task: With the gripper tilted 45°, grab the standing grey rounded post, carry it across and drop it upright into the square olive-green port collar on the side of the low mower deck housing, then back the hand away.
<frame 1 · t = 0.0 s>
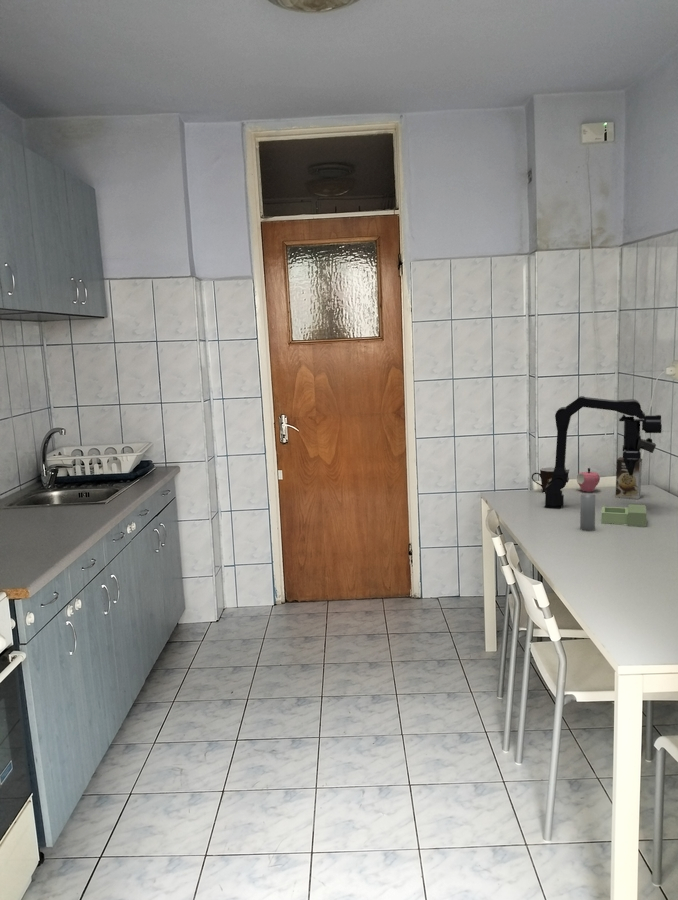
hand: (630, 473, 281), 15 cm above the table, tool pointing down, fingers open, 9 cm apart
apple: (588, 491, 316), on the table
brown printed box: (628, 497, 304), on the table
grey rounded post: (587, 528, 261), on the table
coffee mug: (546, 492, 319), on the table
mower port: (614, 520, 270), on the table
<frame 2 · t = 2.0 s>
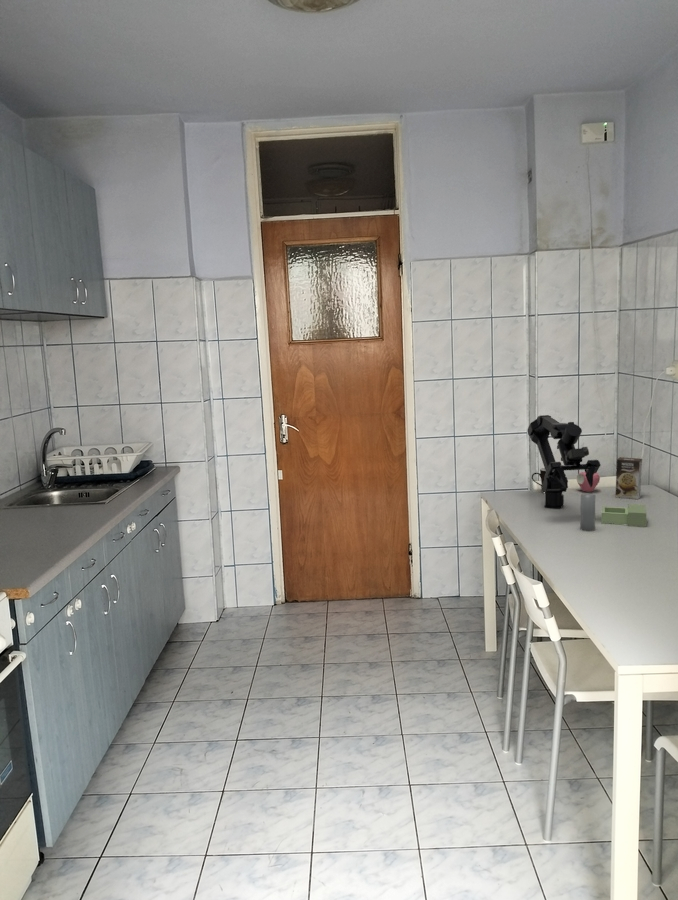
hand: (579, 487, 267), 13 cm above the table, tool tilted 45°, fingers open, 9 cm apart
nothing on the table moved.
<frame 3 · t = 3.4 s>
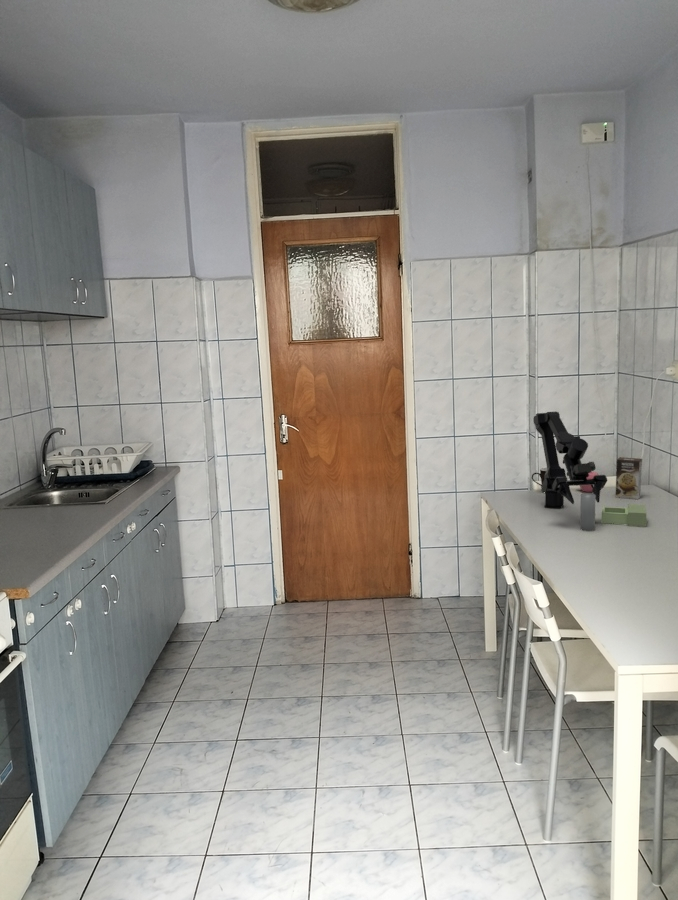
hand: (585, 502, 262), 9 cm above the table, tool tilted 45°, fingers open, 9 cm apart
nothing on the table moved.
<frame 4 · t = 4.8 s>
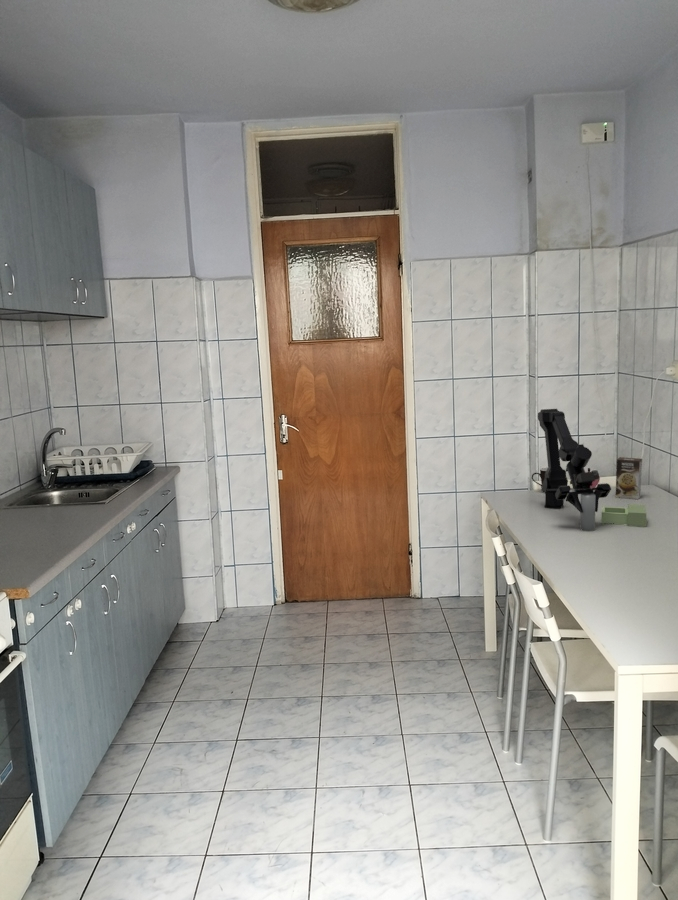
hand: (589, 511, 259), 7 cm above the table, tool tilted 45°, fingers closed on grey rounded post, 5 cm apart
grey rounded post: (587, 528, 261), on the table, touching gripper
everything else where it was.
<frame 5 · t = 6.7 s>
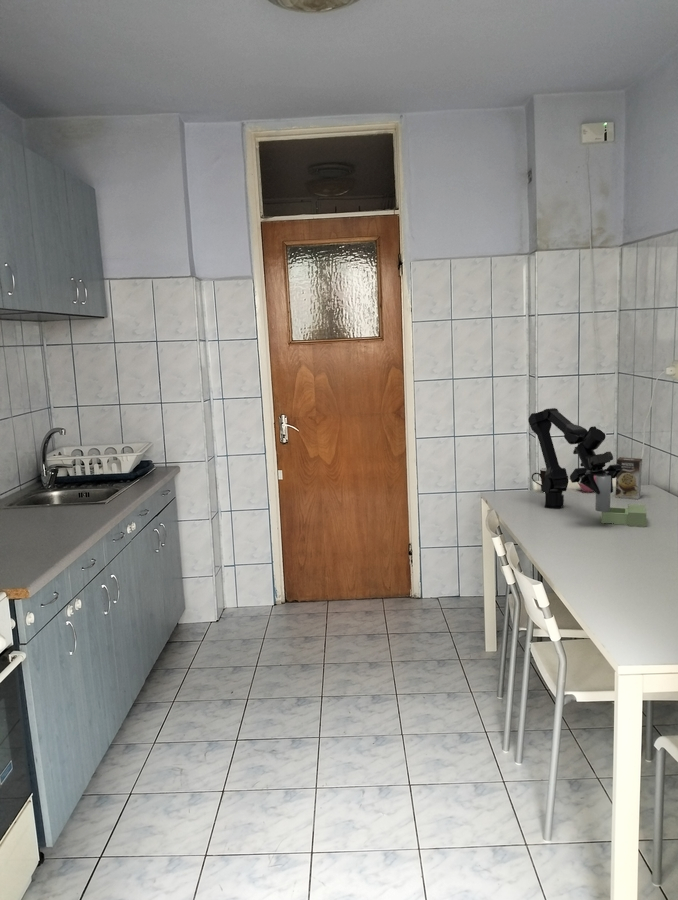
hand: (605, 492, 261), 12 cm above the table, tool tilted 45°, fingers closed on grey rounded post, 5 cm apart
grey rounded post: (602, 509, 264), point 6 cm above the table, touching gripper
everything else where it was.
when the fingers open (8 cm above the table, at t = 8.7 s): grey rounded post drops 2 cm, resting in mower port.
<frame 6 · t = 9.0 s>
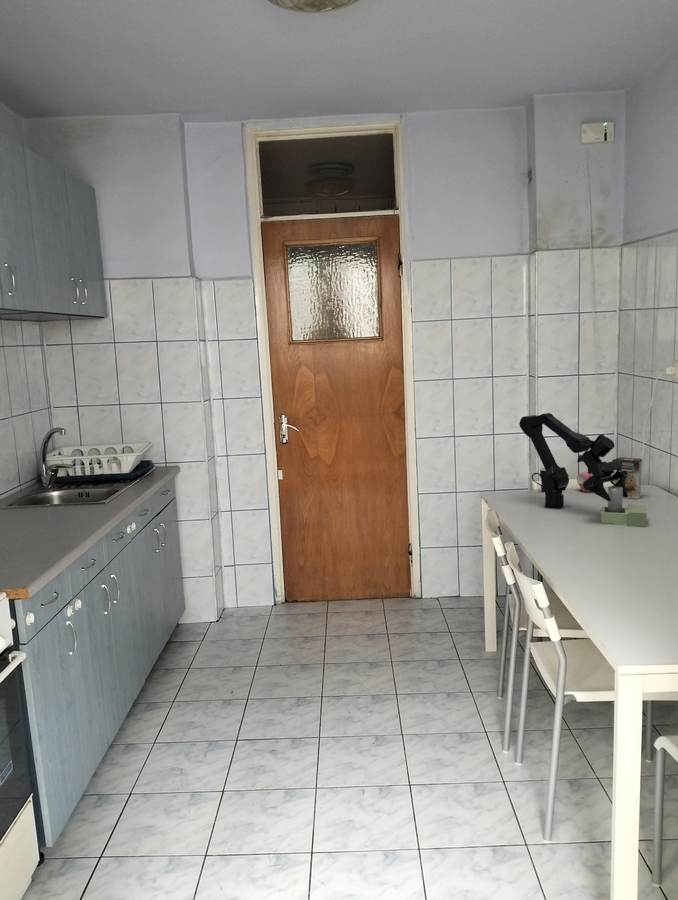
hand: (618, 498, 268), 9 cm above the table, tool tilted 45°, fingers open, 9 cm apart
grey rounded post: (614, 520, 270), resting in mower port
everything else where it was.
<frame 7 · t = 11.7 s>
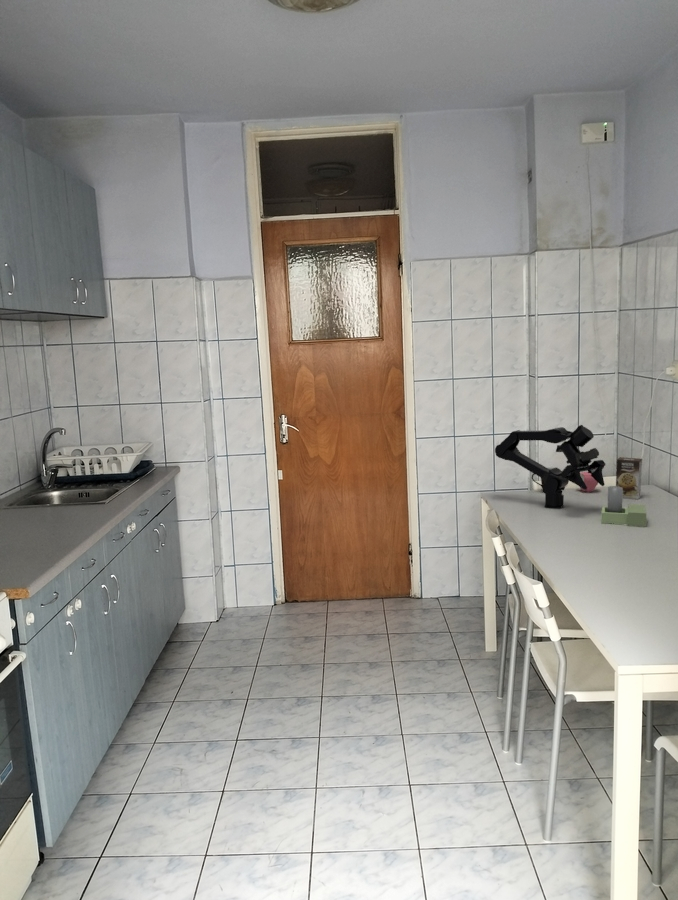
hand: (595, 487, 276), 11 cm above the table, tool tilted 45°, fingers open, 9 cm apart
nothing on the table moved.
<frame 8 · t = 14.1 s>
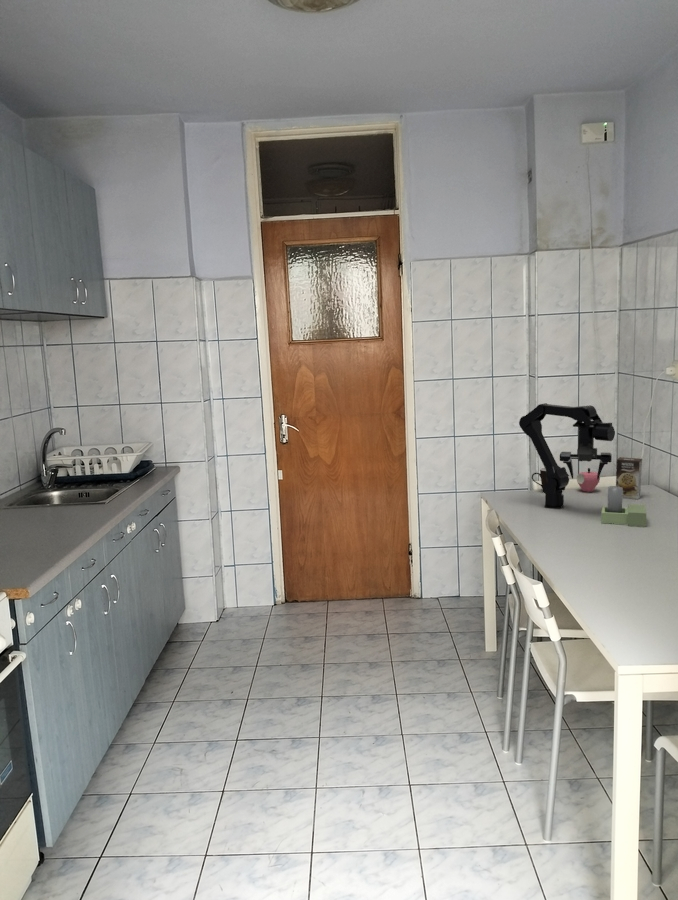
hand: (585, 478, 282), 13 cm above the table, tool pointing down, fingers open, 9 cm apart
nothing on the table moved.
at the end: grey rounded post 0.0 cm off-centre on the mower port, point 0.0 cm above the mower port's base; grey rounded post tilted 0°; the gripper is holding nothing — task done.
